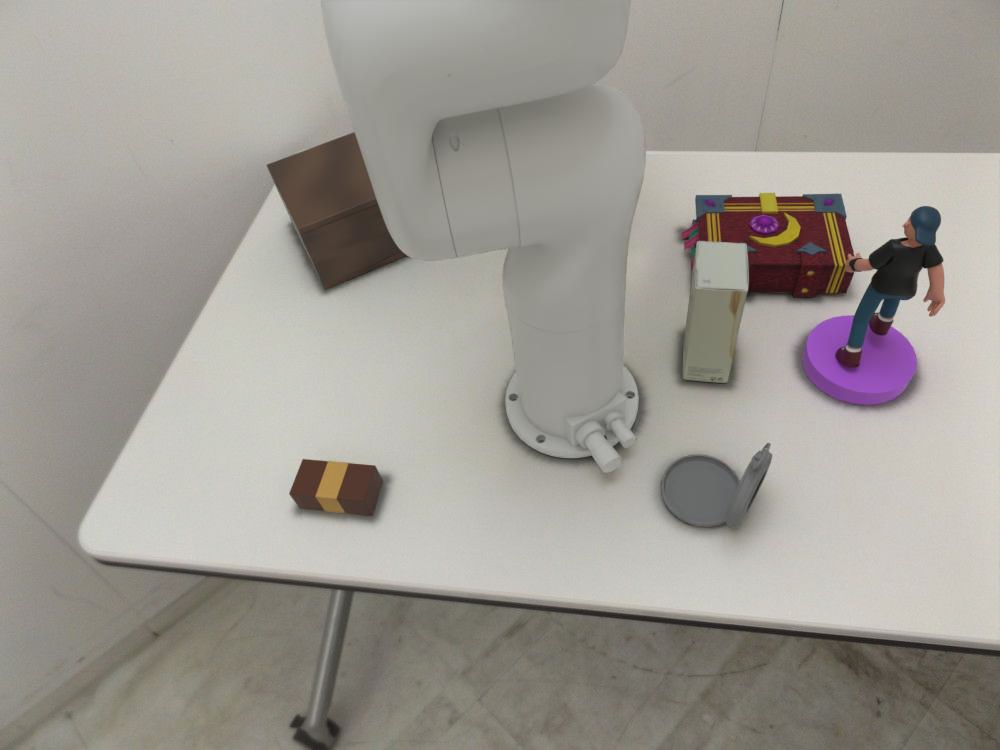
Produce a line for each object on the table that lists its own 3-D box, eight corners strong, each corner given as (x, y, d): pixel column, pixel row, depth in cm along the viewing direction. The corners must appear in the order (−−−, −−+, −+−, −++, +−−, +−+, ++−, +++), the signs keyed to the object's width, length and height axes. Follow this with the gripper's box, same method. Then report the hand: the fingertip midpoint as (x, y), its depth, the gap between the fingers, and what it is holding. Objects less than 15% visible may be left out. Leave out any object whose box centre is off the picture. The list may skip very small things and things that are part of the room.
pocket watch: (656, 461, 61) (664, 394, 53) (754, 458, 60) (777, 389, 52) (667, 548, 56) (678, 488, 48) (774, 546, 55) (803, 485, 47)
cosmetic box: (728, 385, 65) (749, 293, 56) (681, 381, 66) (694, 290, 56) (728, 334, 69) (748, 240, 59) (684, 331, 70) (696, 238, 60)
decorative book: (847, 299, 70) (861, 262, 66) (683, 296, 73) (688, 261, 69) (830, 225, 77) (842, 188, 73) (681, 226, 80) (685, 190, 76)
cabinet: (397, 183, 91) (379, 122, 84) (438, 242, 83) (422, 179, 76) (293, 224, 88) (266, 164, 81) (324, 290, 80) (297, 229, 73)
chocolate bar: (312, 474, 64) (302, 458, 62) (383, 480, 63) (375, 464, 61) (299, 509, 62) (288, 494, 60) (372, 516, 61) (363, 501, 59)
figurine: (899, 330, 67) (978, 173, 53) (919, 408, 61) (1013, 256, 47) (797, 326, 68) (847, 173, 54) (807, 401, 63) (866, 253, 49)
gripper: (551, -27, 66) (561, 143, 80) (485, -69, 75) (504, 91, 89) (481, -3, 64) (504, 165, 78) (422, -49, 73) (452, 110, 88)
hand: (504, 125), depth 84 cm, fingers closed
